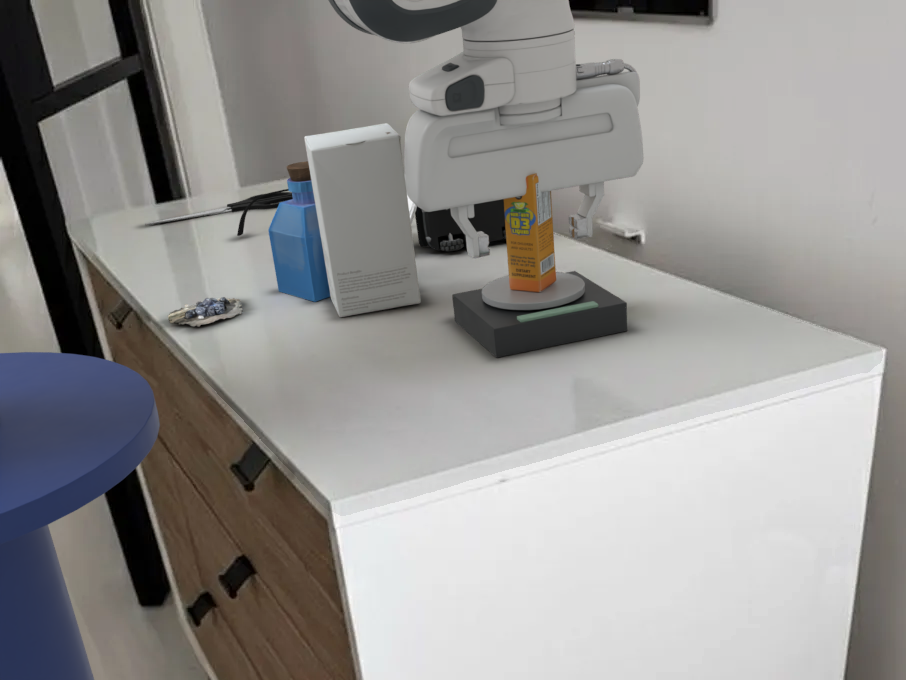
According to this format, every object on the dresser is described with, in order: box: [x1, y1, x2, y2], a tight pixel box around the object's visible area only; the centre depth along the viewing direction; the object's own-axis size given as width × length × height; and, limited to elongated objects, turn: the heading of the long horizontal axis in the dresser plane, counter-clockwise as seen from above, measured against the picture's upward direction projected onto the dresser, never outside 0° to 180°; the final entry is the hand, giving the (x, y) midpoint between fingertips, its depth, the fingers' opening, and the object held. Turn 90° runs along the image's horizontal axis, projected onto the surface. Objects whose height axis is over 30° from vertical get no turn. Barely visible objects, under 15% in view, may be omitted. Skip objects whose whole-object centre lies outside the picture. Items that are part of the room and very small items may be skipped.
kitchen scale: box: [451, 270, 628, 359], centre depth 106 cm, size 12×11×3 cm
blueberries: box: [167, 296, 244, 328], centre depth 118 cm, size 7×8×2 cm
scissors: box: [144, 191, 293, 226], centre depth 155 cm, size 7×1×20 cm
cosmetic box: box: [303, 122, 421, 318], centre depth 113 cm, size 8×7×16 cm
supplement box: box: [504, 173, 557, 292], centre depth 103 cm, size 3×3×10 cm
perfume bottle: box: [267, 160, 331, 303], centre depth 120 cm, size 6×6×12 cm
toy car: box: [414, 199, 506, 252], centre depth 131 cm, size 6×12×6 cm
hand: (530, 246), depth 104 cm, fingers open, 8 cm apart
